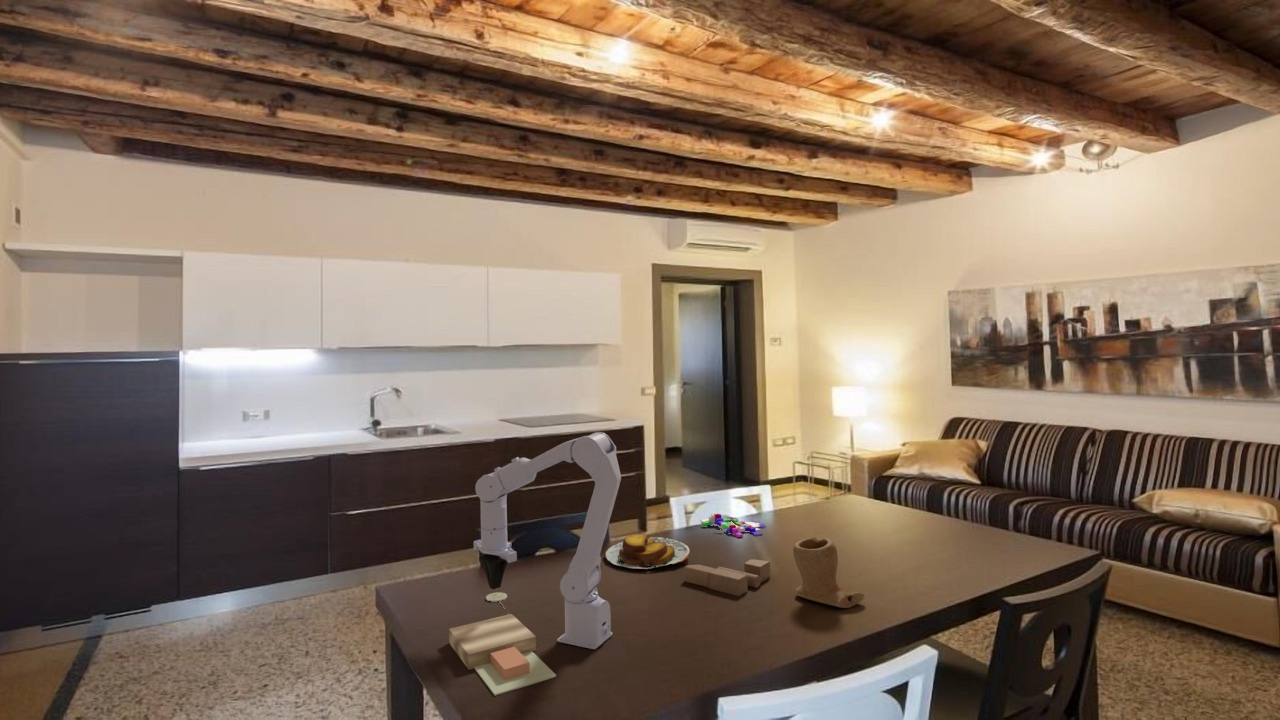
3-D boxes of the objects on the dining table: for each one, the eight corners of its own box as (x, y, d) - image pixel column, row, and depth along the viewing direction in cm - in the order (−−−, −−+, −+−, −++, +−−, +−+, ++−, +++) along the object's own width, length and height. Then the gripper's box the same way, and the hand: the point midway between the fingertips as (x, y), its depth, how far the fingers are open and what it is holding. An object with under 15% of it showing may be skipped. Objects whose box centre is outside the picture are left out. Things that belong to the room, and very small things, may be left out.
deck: (449, 642, 134) (448, 628, 134) (511, 627, 141) (511, 613, 141) (468, 669, 122) (468, 654, 122) (536, 650, 129) (535, 636, 129)
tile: (490, 663, 124) (490, 653, 124) (514, 656, 127) (514, 646, 127) (504, 680, 117) (504, 669, 117) (529, 672, 120) (529, 662, 120)
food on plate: (705, 564, 183) (705, 541, 183) (630, 579, 171) (630, 556, 171) (661, 542, 205) (661, 522, 205) (592, 554, 194) (591, 533, 194)
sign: (498, 616, 147) (483, 594, 160) (498, 620, 147) (483, 598, 160) (520, 612, 149) (504, 591, 162) (520, 615, 149) (504, 594, 162)
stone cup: (783, 599, 155) (782, 538, 155) (812, 587, 162) (811, 529, 162) (838, 617, 143) (837, 552, 143) (866, 604, 151) (864, 541, 151)
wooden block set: (741, 576, 157) (682, 562, 168) (742, 599, 157) (683, 583, 168) (773, 558, 170) (717, 547, 181) (774, 579, 170) (717, 566, 181)
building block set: (779, 534, 213) (779, 521, 213) (726, 542, 206) (726, 528, 206) (741, 517, 236) (741, 505, 236) (692, 523, 229) (692, 511, 229)
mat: (474, 668, 123) (474, 667, 122) (531, 652, 129) (531, 650, 129) (494, 695, 112) (494, 694, 112) (556, 676, 119) (556, 675, 119)
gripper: (527, 528, 138) (529, 590, 138) (491, 517, 148) (492, 575, 148) (500, 535, 133) (501, 599, 133) (465, 523, 143) (466, 583, 143)
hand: (495, 587), depth 140 cm, fingers closed
